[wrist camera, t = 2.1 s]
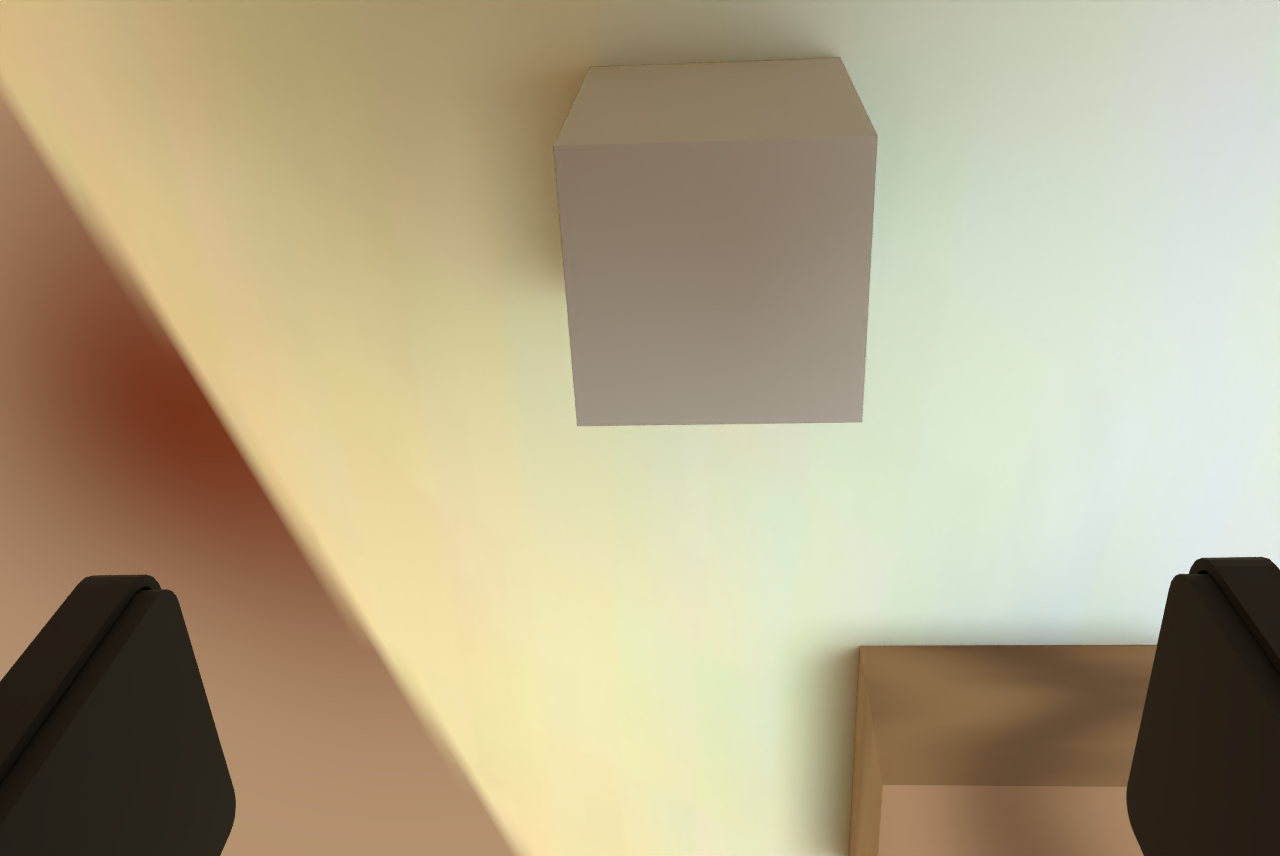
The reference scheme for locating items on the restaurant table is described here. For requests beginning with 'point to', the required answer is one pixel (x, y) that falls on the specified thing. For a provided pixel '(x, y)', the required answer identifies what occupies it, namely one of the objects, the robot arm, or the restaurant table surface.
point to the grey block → (717, 242)
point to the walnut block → (996, 749)
